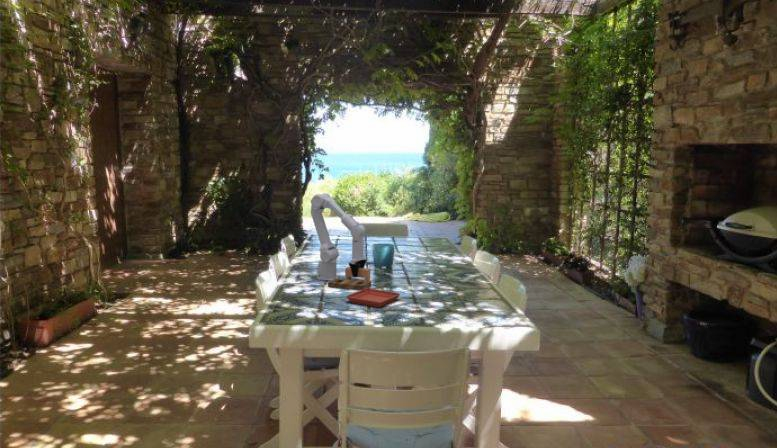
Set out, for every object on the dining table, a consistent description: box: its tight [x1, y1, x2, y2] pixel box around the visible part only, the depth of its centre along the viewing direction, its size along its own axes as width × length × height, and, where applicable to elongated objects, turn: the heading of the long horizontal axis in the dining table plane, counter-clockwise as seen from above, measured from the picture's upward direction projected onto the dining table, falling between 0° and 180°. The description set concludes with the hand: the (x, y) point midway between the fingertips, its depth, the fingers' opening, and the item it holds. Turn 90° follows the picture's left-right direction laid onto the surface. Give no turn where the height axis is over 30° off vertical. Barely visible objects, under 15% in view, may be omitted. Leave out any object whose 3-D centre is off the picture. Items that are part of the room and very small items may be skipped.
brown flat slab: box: [327, 278, 372, 291], centre depth 269 cm, size 19×9×2 cm, turn 72°
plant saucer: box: [345, 288, 401, 308], centre depth 245 cm, size 18×18×3 cm
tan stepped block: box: [344, 266, 371, 282], centre depth 279 cm, size 12×4×7 cm, turn 72°
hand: (357, 275), depth 279 cm, fingers open, 7 cm apart
